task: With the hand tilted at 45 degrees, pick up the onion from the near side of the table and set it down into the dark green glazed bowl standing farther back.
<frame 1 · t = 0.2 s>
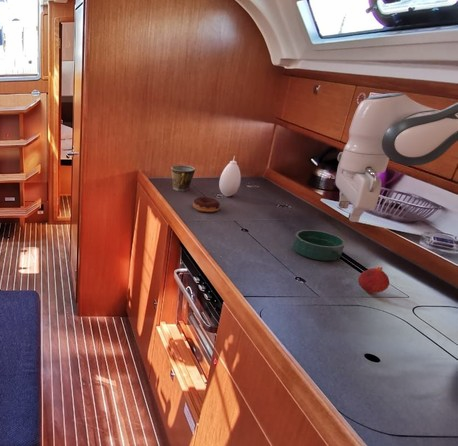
hand: (347, 214, 102), 19 cm above the worktop, tool pointing down, fingers open, 8 cm apart
bowl: (315, 252, 123), on the worktop
onion: (368, 293, 102), on the worktop
white tall oval: (227, 196, 171), on the worktop
donut: (205, 209, 159), on the worktop
ceramic cup: (180, 190, 181), on the worktop
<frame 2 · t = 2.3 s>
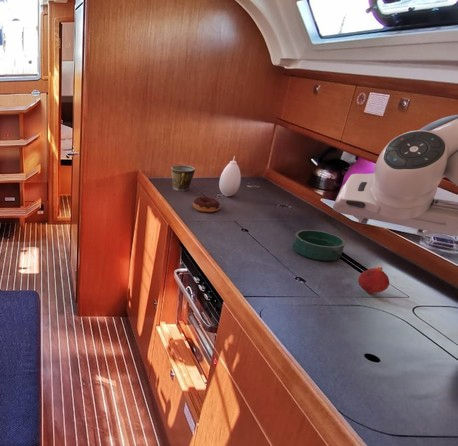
hand: (391, 226, 86), 23 cm above the worktop, tool tilted 45°, fingers open, 8 cm apart
nothing on the worktop moved.
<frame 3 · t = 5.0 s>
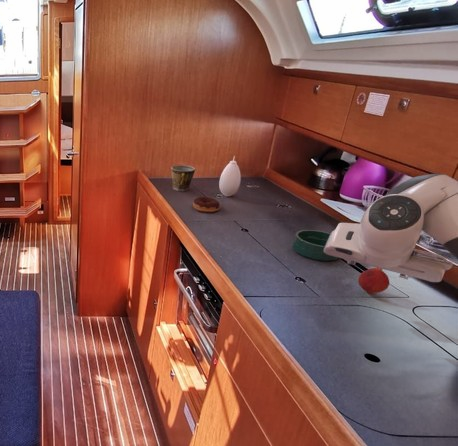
hand: (377, 268, 93), 11 cm above the worktop, tool tilted 45°, fingers open, 8 cm apart
nothing on the worktop moved.
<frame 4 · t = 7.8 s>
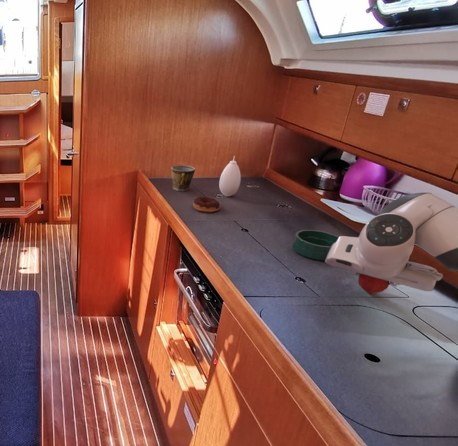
hand: (374, 277, 101), 4 cm above the worktop, tool tilted 45°, fingers closed on onion, 6 cm apart
onion: (368, 293, 102), on the worktop, touching gripper
everything else where it was.
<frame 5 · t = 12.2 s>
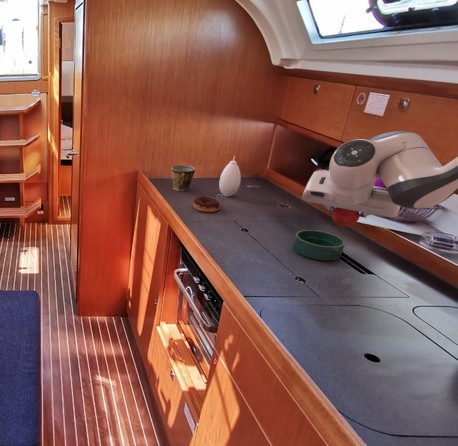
hand: (347, 211, 110), 17 cm above the worktop, tool tilted 45°, fingers closed on onion, 6 cm apart
onion: (341, 227, 111), point 12 cm above the worktop, touching gripper
everything else where it was.
when the fingers open (5 cm above the worktop, at t = 16.9 s): onion stays where it is, resting on bowl.
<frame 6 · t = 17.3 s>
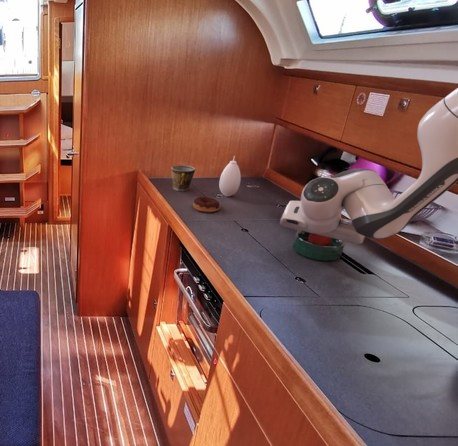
hand: (320, 236, 121), 5 cm above the worktop, tool tilted 45°, fingers open, 8 cm apart
onion: (316, 251, 122), resting on bowl
everything else where it was.
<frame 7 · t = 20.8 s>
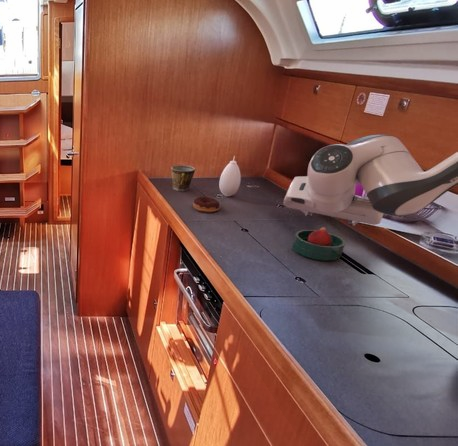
hand: (330, 218, 106), 17 cm above the worktop, tool tilted 45°, fingers open, 8 cm apart
nothing on the worktop moved.
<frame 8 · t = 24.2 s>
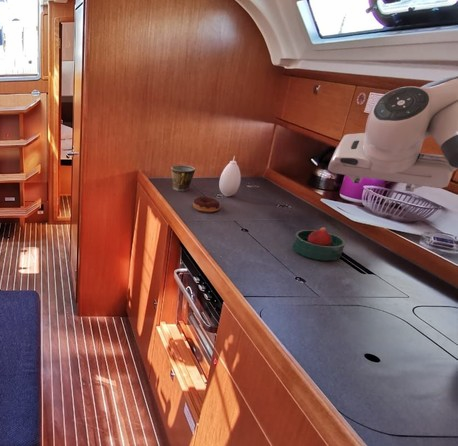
hand: (382, 184, 92), 29 cm above the worktop, tool tilted 45°, fingers open, 8 cm apart
nothing on the worktop moved.
at the end: onion inside the target area in the bowl (0.1 cm from its centre), point 0.4 cm above the bowl's base; the gripper is holding nothing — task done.
